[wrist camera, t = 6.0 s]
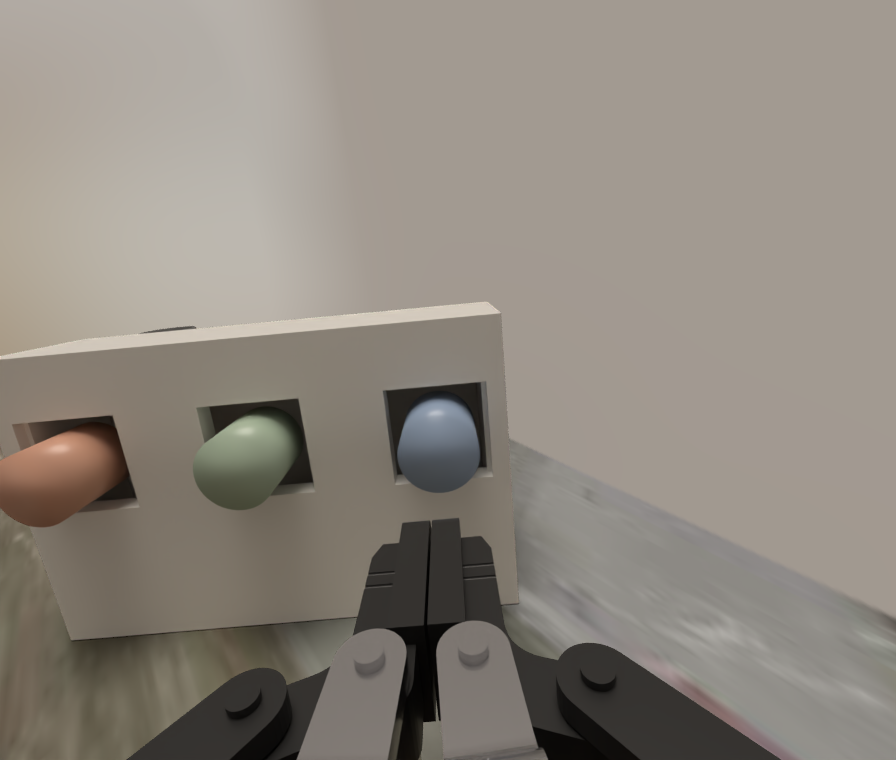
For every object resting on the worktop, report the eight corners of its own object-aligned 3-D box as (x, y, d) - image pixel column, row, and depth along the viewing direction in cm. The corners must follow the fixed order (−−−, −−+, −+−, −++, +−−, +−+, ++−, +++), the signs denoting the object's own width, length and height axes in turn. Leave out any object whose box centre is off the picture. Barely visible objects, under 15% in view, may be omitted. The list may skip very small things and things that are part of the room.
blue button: (402, 496, 18) (392, 420, 17) (409, 458, 21) (401, 393, 20) (482, 489, 18) (476, 412, 17) (476, 452, 21) (471, 387, 20)
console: (71, 640, 22) (-31, 362, 19) (149, 562, 28) (83, 339, 24) (518, 603, 22) (501, 313, 18) (502, 531, 28) (487, 301, 24)
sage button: (203, 513, 18) (184, 438, 17) (242, 473, 21) (228, 409, 21) (282, 506, 18) (267, 431, 17) (308, 467, 21) (297, 403, 21)
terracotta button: (6, 530, 18) (-22, 457, 17) (77, 487, 22) (56, 425, 21) (84, 524, 18) (60, 449, 17) (143, 481, 21) (125, 418, 21)
